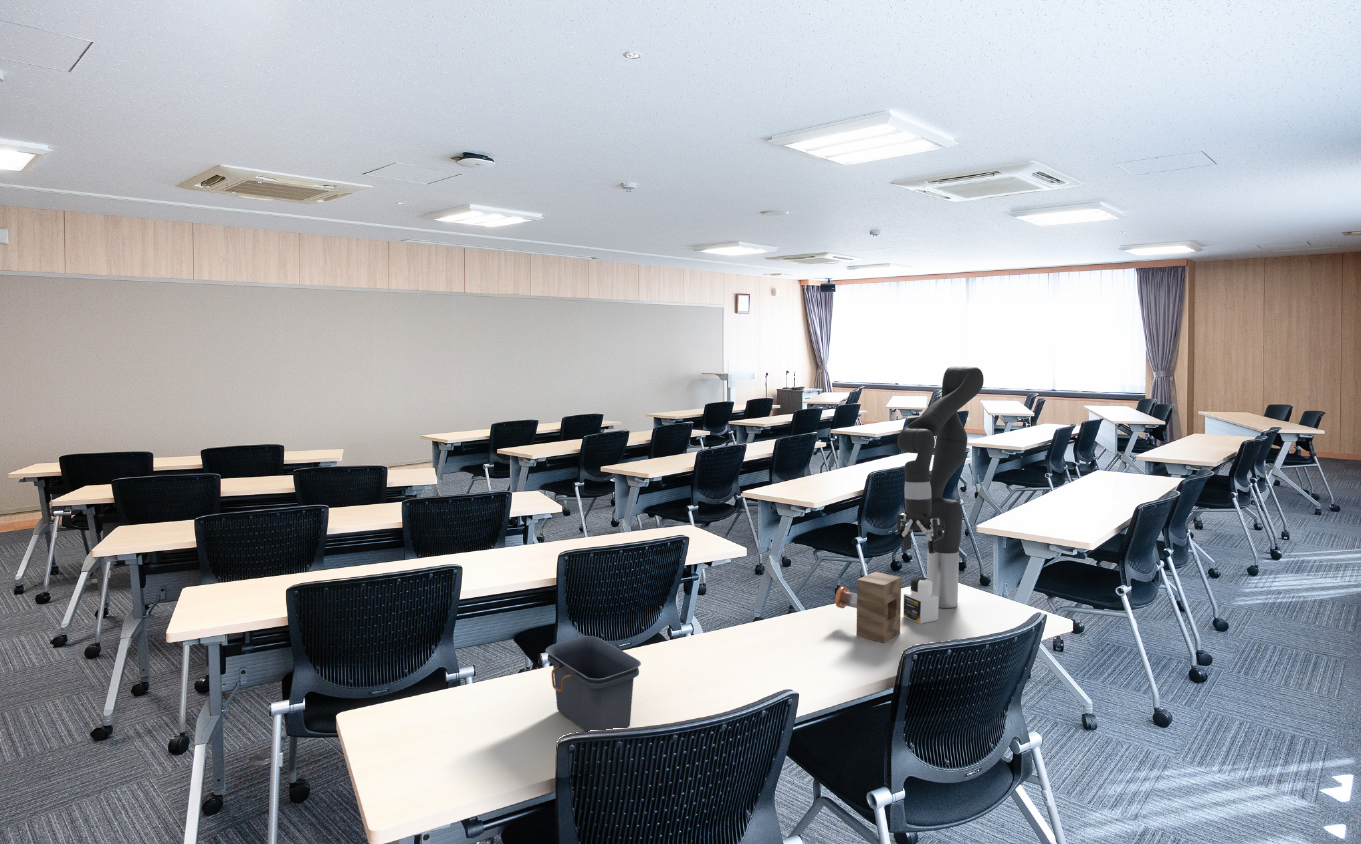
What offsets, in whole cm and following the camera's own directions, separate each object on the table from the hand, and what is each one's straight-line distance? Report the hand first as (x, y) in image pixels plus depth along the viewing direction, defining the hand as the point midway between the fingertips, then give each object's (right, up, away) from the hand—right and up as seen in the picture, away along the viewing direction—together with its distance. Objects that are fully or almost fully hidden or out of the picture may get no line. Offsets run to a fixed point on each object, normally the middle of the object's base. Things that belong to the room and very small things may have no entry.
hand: (919, 551), depth 220 cm
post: (-15, -21, -12) cm, 29 cm away
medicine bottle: (0, -20, +1) cm, 20 cm away
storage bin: (-90, -26, -61) cm, 112 cm away
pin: (-20, -16, -9) cm, 27 cm away
